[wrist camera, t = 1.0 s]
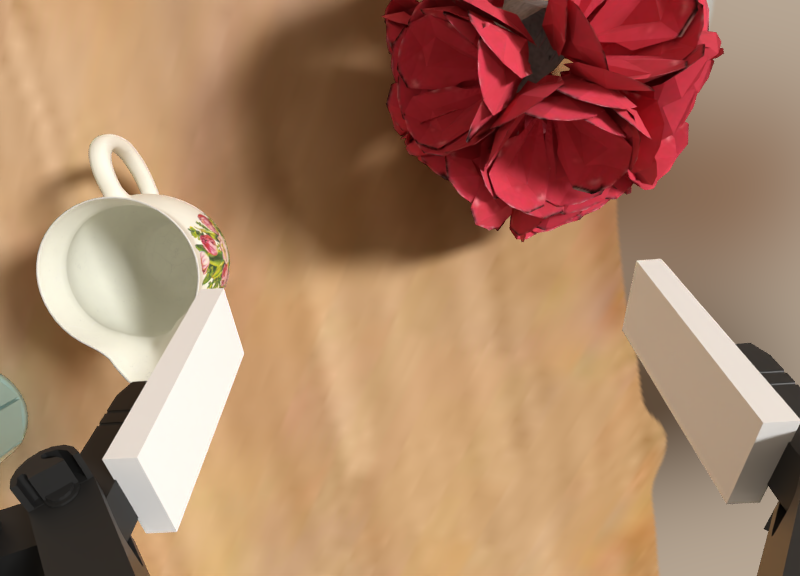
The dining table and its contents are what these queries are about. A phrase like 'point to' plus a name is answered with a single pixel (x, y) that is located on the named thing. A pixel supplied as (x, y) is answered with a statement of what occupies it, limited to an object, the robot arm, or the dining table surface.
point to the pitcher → (128, 264)
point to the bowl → (11, 418)
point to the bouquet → (546, 98)
